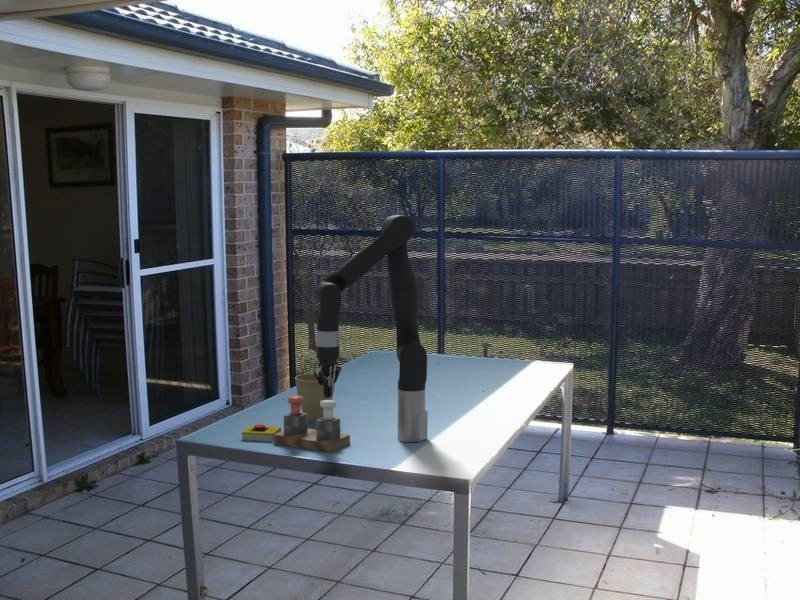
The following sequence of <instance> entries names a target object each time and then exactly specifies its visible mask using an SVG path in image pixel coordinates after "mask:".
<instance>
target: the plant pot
mask: <svg viewBox="0 0 800 600" xmlns="http://www.w3.org/2000/svg"><path fill="white" fill-rule="evenodd" d="M294 381H295V387H296V393H297V396H303V402H302V403H300V410H301V413H306V414H307V422H309V423H310V422H311V423H316V420H318V419H320V418H323V408H322V407H320V401H323V400H333V396H334V392H335V385H336V383H334V384H333V386H332V397H330V398H325V397H324V386H323V385H320V384H319V383H318V381H317V379H316V377H315V375H314V373H304V374H300V375H297V376H295V377H294Z"/></svg>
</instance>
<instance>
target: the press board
mask: <svg viewBox="0 0 800 600" xmlns="http://www.w3.org/2000/svg"><path fill="white" fill-rule="evenodd" d="M315 423H316V425H315V427H316V429H315V428H314V429H313V428H308V421H307V414H306V413H303V412H300V416H291V412H289V413H286V414H284V415H283V430H281V432H279V433H277V434H274V442H273V444H274V443H276V445H280V444H281V445H280V446H286V445H287V447H293V448H297V449H306V450H310V451H316V452H317V451H318V452H321V453H322V452H323V453H330V452H331V453H333V452H335V451H337V450H339V449H341V447H342V448H344V447H346V446H348V445H350V443H351V435H350V434H347V433H346V434H345V433H341V418H339V417H335V416H333V420H332V421H324V420H323V418H320V419H318V420H316V422H315ZM343 446H344V447H343ZM332 451H333V452H332Z"/></svg>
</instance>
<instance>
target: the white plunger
mask: <svg viewBox="0 0 800 600" xmlns="http://www.w3.org/2000/svg"><path fill="white" fill-rule="evenodd" d="M320 407H322V408H323V420H324V421H332V420H333V417H334V408H336V407H337V401H336V400H333V399H332V400H323V401H320Z"/></svg>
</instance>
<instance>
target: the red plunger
mask: <svg viewBox="0 0 800 600" xmlns="http://www.w3.org/2000/svg"><path fill="white" fill-rule="evenodd" d="M302 402H303V396H298V395H290V396H287V404H290V413H291V416H300V413H301V406H300V403H302Z"/></svg>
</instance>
